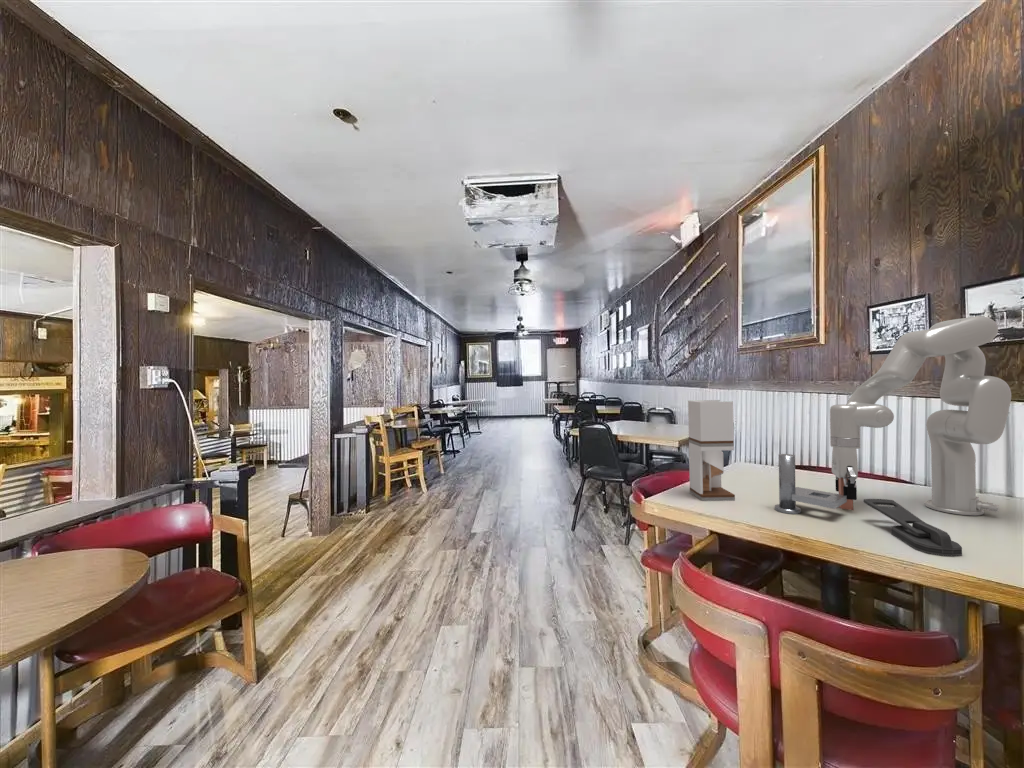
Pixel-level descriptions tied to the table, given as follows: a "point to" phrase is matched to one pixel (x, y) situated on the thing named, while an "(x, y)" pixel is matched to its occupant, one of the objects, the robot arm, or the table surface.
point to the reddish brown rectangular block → (849, 502)
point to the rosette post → (800, 490)
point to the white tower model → (709, 447)
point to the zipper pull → (916, 530)
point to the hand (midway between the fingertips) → (845, 495)
